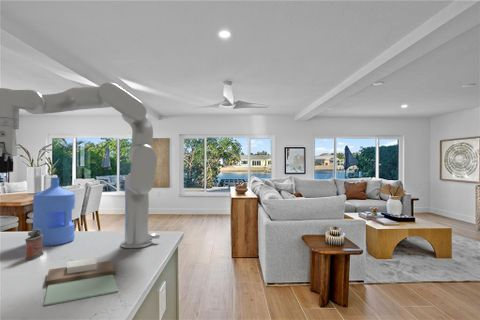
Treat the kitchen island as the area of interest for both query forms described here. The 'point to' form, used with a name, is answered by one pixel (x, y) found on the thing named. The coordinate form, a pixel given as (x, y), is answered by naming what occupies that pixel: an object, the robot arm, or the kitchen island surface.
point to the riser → (79, 273)
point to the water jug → (54, 214)
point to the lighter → (34, 245)
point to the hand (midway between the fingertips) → (4, 172)
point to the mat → (80, 289)
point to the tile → (81, 265)
